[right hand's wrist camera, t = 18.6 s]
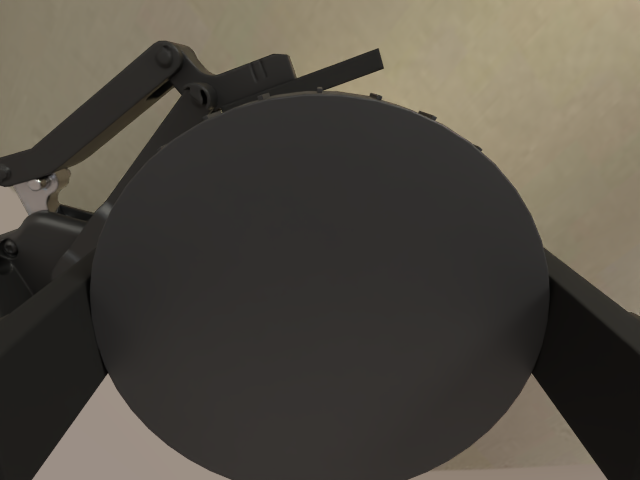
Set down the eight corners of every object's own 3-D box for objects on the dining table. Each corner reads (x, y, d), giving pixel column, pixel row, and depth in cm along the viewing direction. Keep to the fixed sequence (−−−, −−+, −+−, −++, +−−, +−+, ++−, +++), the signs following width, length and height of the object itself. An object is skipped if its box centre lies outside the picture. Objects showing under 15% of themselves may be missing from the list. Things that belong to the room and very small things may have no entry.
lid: (93, 392, 13) (59, 440, 12) (167, 16, 9) (133, 2, 8) (419, 478, 15) (432, 532, 13) (597, 177, 11) (650, 196, 9)
